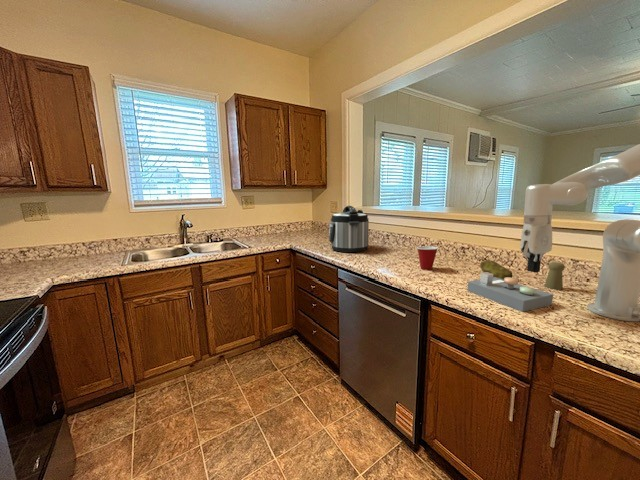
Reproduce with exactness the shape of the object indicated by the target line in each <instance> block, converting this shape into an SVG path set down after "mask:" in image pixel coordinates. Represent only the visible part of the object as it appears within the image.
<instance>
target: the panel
mask: <svg viewBox="0 0 640 480" xmlns="http://www.w3.org/2000/svg"><path fill="white" fill-rule="evenodd" d="M507 285H508V284H507V283H504V280H503V279H500V278H497V277H493V281H492V284H484V283H481V282H480V279H475V280H470V281H467V289H466V290H467V292H470V293H472V294H475V295H478V296H480V297H481V298H482V297H483V298H484V299H485V298H486V299H488V300H490V301H493V302H496V303H499V304H501V305H503V306H506V307H509V308H511V309H513V310H516V311H519V312H520V313H521V312H522V313H524V312H529V311H532V310H536V309H539V308H545V307H548V306H552V305H553V300H554V293H550V292H547V291H543V290H540V289H536V288H533V287H532V288H533V289H535V294H534V295H530V296H527V295H524V294H523V293H521V292H520V287H528V286H527V285H523V284H520V283H518V285H514V289H513V290H509V289H507Z"/></svg>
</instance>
